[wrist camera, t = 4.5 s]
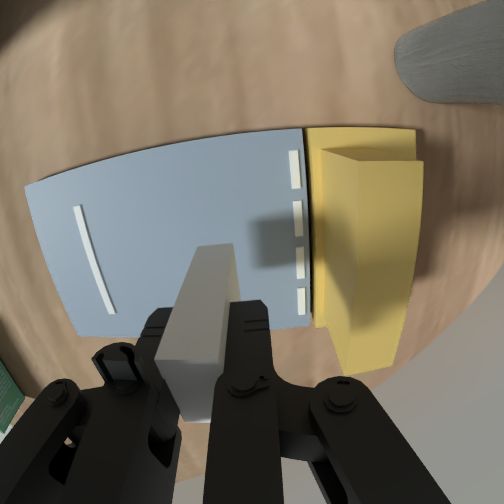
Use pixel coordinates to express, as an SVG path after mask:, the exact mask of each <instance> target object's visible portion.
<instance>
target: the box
mask: <svg viewBox="0 0 504 504" xmlns="http://www.w3.org/2000/svg"><path fill="white" fill-rule="evenodd" d="M24 399H25V396H24V395H23V394H22V392H21V391H20V389H19V388H18V387H17V385H16V384H15V382H14V381H13V379H12V378H11V376H10V374H9V373H8V371H7V370H6V368H5V367H4V365H3V363H2V362H1V360H0V432H1V433H3V434H4V433H5V431H6V429H7V428H8V426H9V424H10V422H11V421H12V419H13V417H14V415H15V414H16V412H17V410H18V409H19V407H20V405H21V404H22V402H23V401H24Z"/></svg>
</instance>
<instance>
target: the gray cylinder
mask: <svg viewBox="0 0 504 504" xmlns="http://www.w3.org/2000/svg"><path fill="white" fill-rule="evenodd" d="M394 59H395V64H396V68H397V71H398V73H399V75H400V77H401V79H402V81H403V82H404V84H405V85H406V86H407V88H408V89H409V90H410V91H411V92H412V93H413V94H414V95H416V96H417V97H419V98H420V99H422V100H424V101H427V102H431V103H487V104H504V0H487V1H484V2H481V3H478V4H475V5H472V6H469V7H467V8H464V9H461V10H459V11H456V12H453V13H451V14H448V15H446V16H443V17H441V18H439V19H436V20H434V21H432V22H429V23H427V24H425V25H423V26H420V27H418V28H416V29H414V30H412V31H410V32H408V33H406V34H405V35H403V36H402V37H401V38H400V39H399V40H398V41H397V43H396V46H395V51H394Z"/></svg>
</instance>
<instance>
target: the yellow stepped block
mask: <svg viewBox="0 0 504 504" xmlns="http://www.w3.org/2000/svg"><path fill="white" fill-rule="evenodd" d="M305 139H306V151H307V164H308V179H309V195H310V216H311V243H312V317H313V321H314V324H315V327H316V328H321V327H328V330H329V333H330V336H331V338H332V341H333V344H334V347H335V350H336V353H337V356H338V359H339V362H340V365H341V368H342V371H343V374H344V376H347V375H352V374H357V373H362V372H367V371H371V370H376V369H380V368H384V367H388V366H392V364H393V361H394V357H395V354H396V350H397V347H398V343H399V340H400V336H401V332H402V328H403V324H404V320H405V316H406V311H407V307H408V302H409V297H410V292H411V287H412V281H413V276H414V270H415V263H416V257H417V249H418V241H419V233H420V223H421V211H422V196H423V164H424V161H420V160H416V133H415V130H410V129H396V128H372V127H324V128H305Z"/></svg>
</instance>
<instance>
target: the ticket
mask: <svg viewBox="0 0 504 504" xmlns="http://www.w3.org/2000/svg"><path fill="white" fill-rule="evenodd" d="M24 188H25V192H26V196H27V201H28V205H29V209H30V212H31V216H32V220H33V223H34V227H35V230H36V233H37V237H38V240H39V243H40V246H41V249H42V252H43V255H44V258H45V261H46V263H47V266H48V269H49V271H50V274H51V276H52V279H53V281H54V284H55V286H56V289H57V291H58V294H59V296H60V298H61V300H62V303H63V305H64V307H65V309H66V311H67V314H68V316H69V318H70V320H71V322H72V324H73V326H74V328H75V330H76V332H77V334H78V336H88V337H140V334H141V332H142V330H143V329H144V325H145V323H146V321H147V319H148V317H149V316H150V315H151V314H152V313H153V312H154V311H155V310H156V309H157V308H163V307H174V304H175V302H176V299H177V296H178V294H179V291H180V289H181V286H182V284H183V281H184V279H185V276H186V274H187V271H188V269H189V266H190V264H191V261H192V259H193V257H194V254H195V252H196V249H197V247H198V246H206V245H216V244H226V243H233V247H234V254H235V261H236V268H237V275H238V282H239V289H240V295H241V301H249V300H260V299H261V301H262V302H263V303H264V304H265V305H266V306H267V308H268V315H269V326H270V330H278V329H287V328H295V327H304V326H310V260H309V228H308V207H307V189H306V173H305V160H304V147H303V136H302V128H300V129H283V130H270V131H259V132H250V133H241V134H232V135H225V136H218V137H211V138H204V139H198V140H192V141H186V142H181V143H175V144H170V145H165V146H160V147H155V148H151V149H146V150H142V151H137V152H133V153H129V154H125V155H121V156H117V157H113V158H109V159H106V160H102V161H99V162H95V163H92V164H88V165H85V166H82V167H78V168H75V169H72V170H69V171H66V172H63V173H60V174H57V175H54V176H51V177H48V178H46V179H43V180H40V181H37V182H35V183H32V184H30V185H27V186H25V187H24Z"/></svg>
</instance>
